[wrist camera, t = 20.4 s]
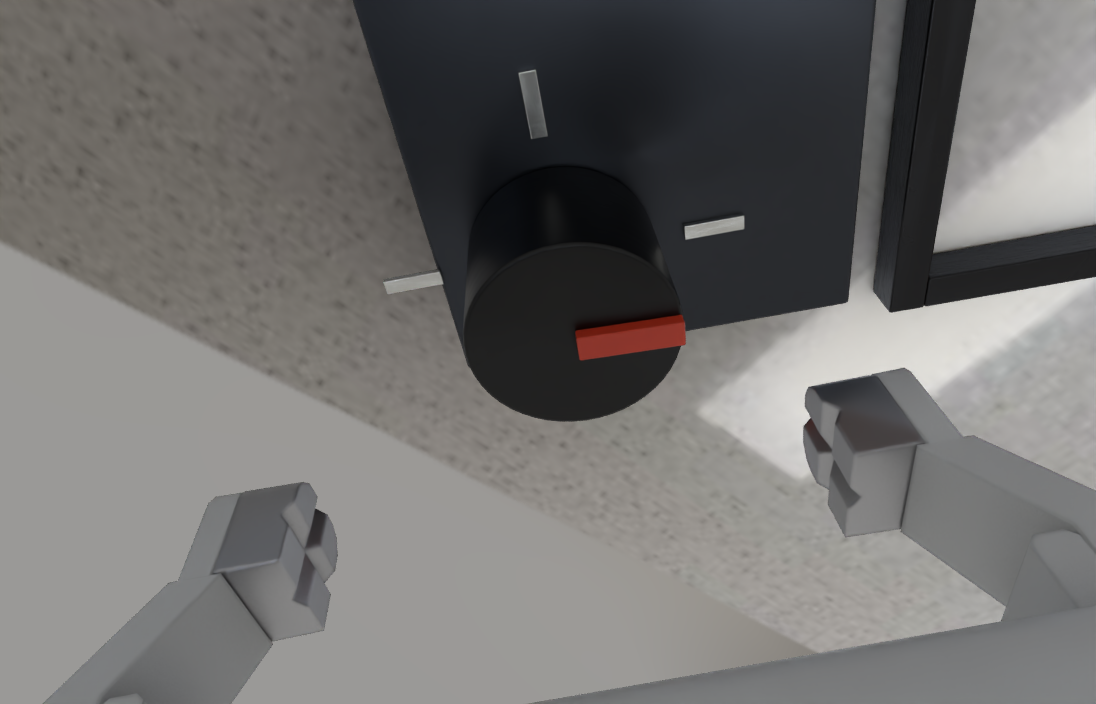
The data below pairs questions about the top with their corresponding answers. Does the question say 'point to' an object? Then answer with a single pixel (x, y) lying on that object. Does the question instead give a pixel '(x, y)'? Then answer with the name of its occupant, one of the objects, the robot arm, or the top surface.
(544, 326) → the knob
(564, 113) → the panel
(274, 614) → the robot arm
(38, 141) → the top surface
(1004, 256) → the black flat square frame
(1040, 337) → the top surface
